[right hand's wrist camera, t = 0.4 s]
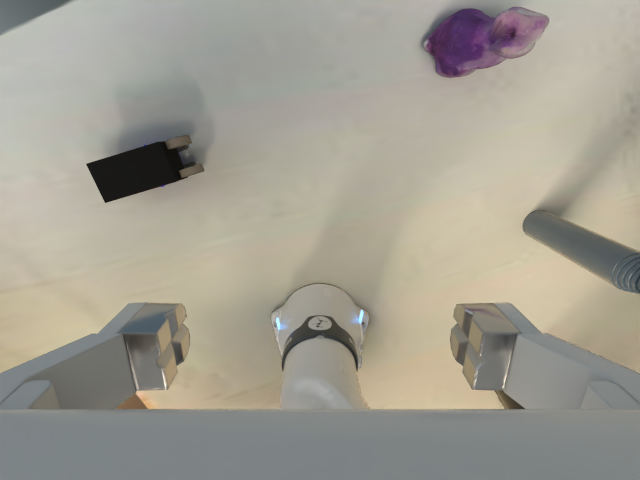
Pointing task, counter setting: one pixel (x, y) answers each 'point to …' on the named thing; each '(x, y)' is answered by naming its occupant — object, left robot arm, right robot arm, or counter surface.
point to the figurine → (483, 39)
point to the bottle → (587, 249)
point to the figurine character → (142, 169)
